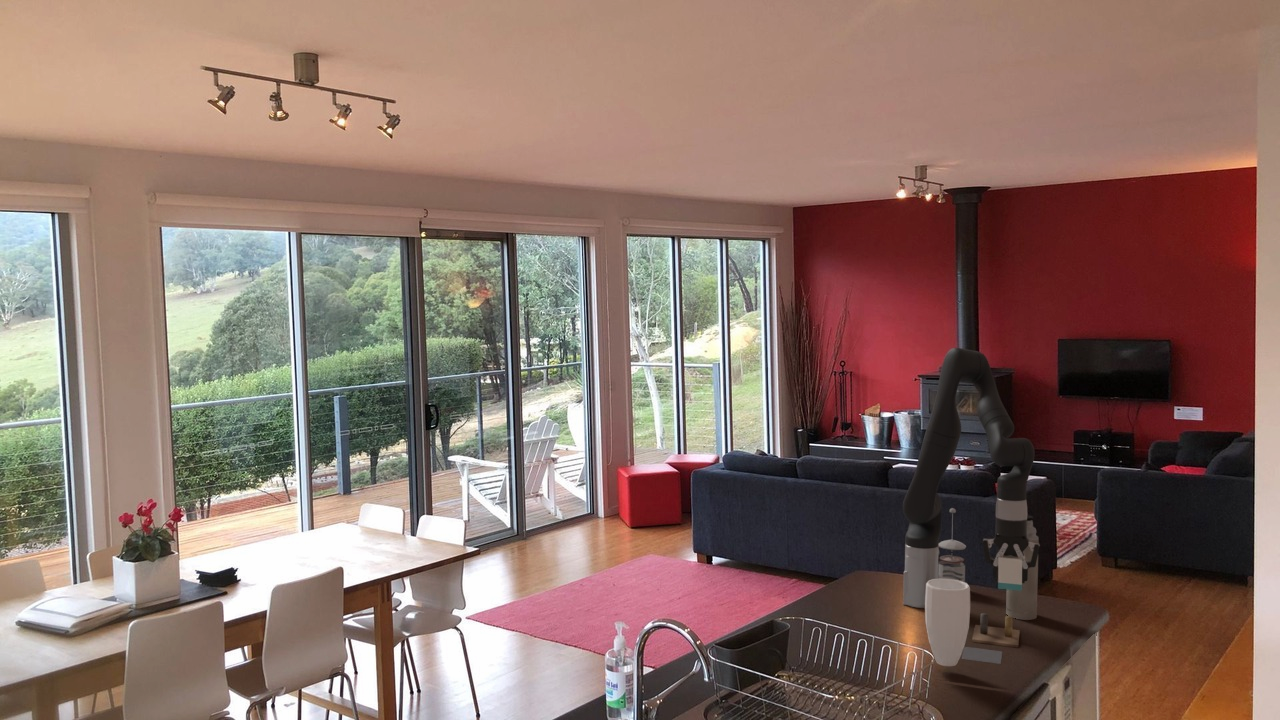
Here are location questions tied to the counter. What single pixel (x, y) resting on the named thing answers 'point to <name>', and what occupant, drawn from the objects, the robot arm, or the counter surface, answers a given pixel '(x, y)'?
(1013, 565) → the sleeve
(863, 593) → the counter surface
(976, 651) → the pad
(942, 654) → the cup
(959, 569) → the french press
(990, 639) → the pin board
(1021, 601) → the thermos bottle
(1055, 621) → the counter surface
